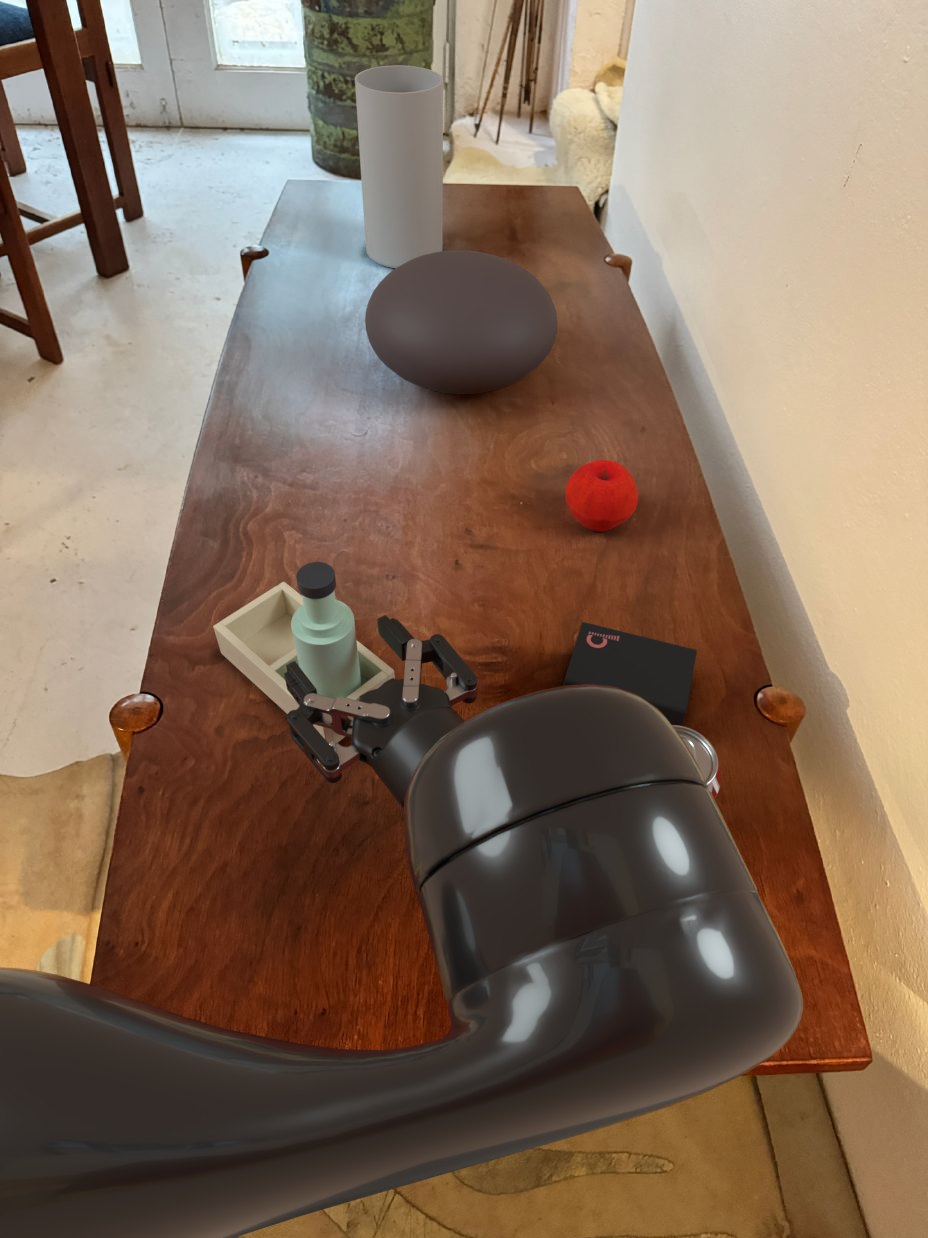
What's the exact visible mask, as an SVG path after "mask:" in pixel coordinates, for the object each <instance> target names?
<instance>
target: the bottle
mask: <svg viewBox="0 0 928 1238" xmlns="http://www.w3.org/2000/svg"><path fill="white" fill-rule="evenodd" d="M295 575H296V576H295V578H296V584H297V589H298V593H299V594H300V595H301V596H302V598H303V605H302V606H301V607H299V608H298V609H297V610H296V612H295V613H294V615H293V617H292V620H291V628H292V633H293V638H294V643H295V648H296V653H297V658H298V663H299V667H300V668H301V670H302V671H303V672H304V674H305V675H306V676H307V677H308V679H309V680H310V681H311V683H312V684H313V685H314V686H315V688H316V689H317V694H319V695H323V696H326V697H330V698H336V697H338V696H341V697H345V698H346V697H348V696H349V695H350V694H352V693H353V692H354V691H356V690H357V689H358V688H360V687H361V686H362V685H361V676H360V667H359V658H358V649H357V641H358V639H357V632H356V623H355V615H354V612H353V610H352V609H351V608H350V606H348V605H347V604H346V603H344V602H343V601H341V600H338V599H337V598H336V592H335V590H336V587H337V580H336V572H335V570H334V568H333V567H332V566H331V565H330V564H328V563H326V562H322V561H313V562H308V563H306V564H304V565H302V566H301V567H300V568H299V569H298V570H297V573H296V574H295Z"/></svg>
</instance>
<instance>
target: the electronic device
mask: <svg viewBox="0 0 928 1238" xmlns="http://www.w3.org/2000/svg"><path fill="white" fill-rule="evenodd" d="M697 653H698V650H697V649H696V648H692V647H687V646H682V645H679V644H674V643H671V642H667V641H662V640H658V639H654V638H650V637H646V636H642V635H638V634H634V633H630V632H626V631H622V630H618V629H614V628H610V627H606V626H602V625H597V624H594V623H591V622H590V623H589V622H586V621H581V624H580V627H579V631H578V634H577V637H576V641H575V644H574V647H573V651H572V654H571V657H570V660H569V663H568V667H567V671H566V673H565V676H564V682H563V685H562V686H568V685H583V684H594V685H604V686H613V687H616V688H619V689H622V690H625V691H628V692H631V693H634V694H637V695H638V696H640V697H641V698H643V699H644V700H646V701H647V702H649V703H650V704H652V705H653V706H655V707H656V708H658V709H659V710H660V711H661V713H662V714H663V715H664V716H665V717H666V719H667V720H668V721H669V722H670V724H671V725H678V726H682V725H683V722H684V719H685V716H686V713H687V709H688V705H689V704H688V703H689V698H690V693H691V687H692V682H693V676H694V670H695V664H696V658H697Z"/></svg>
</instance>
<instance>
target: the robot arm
mask: <svg viewBox="0 0 928 1238" xmlns="http://www.w3.org/2000/svg"><path fill="white" fill-rule="evenodd" d="M376 621H377V632H378V635H379V636H380V637H381V639H382V640H383V641H384V642H385V643H386V644H387V645H388V647H390V649H391V650H392V651H393V652H394V653H395V654H396V656H397V657H398V658H399V660H401V661H402V662H404V672H403V673H404V674H403V678H397V679H394V678H391V679H390V680H388V681H386V682H385V683H383V684H382V685H381V686H380V687H379V688H378V689H375V690H371V691H368V692H366V693H364V694H362V695H360V696H359V698H360V700H359V701H357V700H353V699H349V698H345V697H341V696H338V697H336V698H330V697H326V696H323V695H319V694H317V689H316V688H315V686H314V685H313V684H312V683H311V681H310V680H309V679H308V677H307V676H306V675H305V674H304V672H303V671H302V670H301V668H300V667H299V666H298V664H297V663H296V662H295V661H293V662H291V663H289V664H287V665H286V668H287V672H286V673H284V676H285V681H286V686H287V690H288V691H289V692H290V694H291V695H292V696H293V698H294V699H295V701H296V702H297V703H298V705H299V707H298V709H297V710H292V711H290V712H289V713H288V714H287V713H286V722H287V724H288V728H289V734H290V738H291V739H292V740H293V742H294V743H295V744H296V745H297V746H298V748H299V749H300V750H301V752H302V753H303V754H304V755H305V756H306V757H307V759H308V760H309V761H310V762H311V764H313V766H314V767H315V768H316V770H317V771H318V772H319V773H320V774H321V775H322V777H323V778H324V779H325V781H327V782H328V783H330V784H336V783H338V782H339V781H341V779H342V776H343V774H342V772H343V771H345V770H346V769H348V768H349V767H351V766H352V765H354V764H355V763H357V762H358V761H359V762H362V763H365V764H366V765H367V766H368V765H369V767H370V768H372V770H373V771H374V773H375V774H376V775H377V777H378V778H379V779H380V780H381V782H382V784H383V785H384V786H385V788H387V790H388V791H389V793H391V795H392V796H393V798H394V799H395V800H396V801H397V802H398V804H399V805H400V807H401V808H402V809H403V835H404V844H405V851H406V856H407V862H408V868H409V871H410V876H411V880H412V884H413V886H414V889H415V893H416V895H417V898H418V899H417V900H418V902H419V905H420V909H421V914H422V917H423V921H424V924H425V929H426V932H427V936H428V938H429V943H430V946H431V950H432V954H433V958H434V961H435V964H436V968H437V972H438V976H439V979H440V984H441V987H442V991H443V994H444V998H445V1001H446V1003H447V1007H446V1008H447V1012H448V1016H449V1020H450V1029H449V1031H448V1033H446V1034H445V1035H444V1036H442V1037H440V1038H437V1039H436V1040H432V1041H428V1042H424V1043H420V1044H415V1045H411V1046H404V1047H396V1048H388V1049H387V1048H386V1049H357V1048H335V1047H329V1046H320V1045H314V1044H307V1043H298V1042H294V1041H289V1040H288V1041H287V1040H282V1039H278V1038H271V1037H267V1036H262V1035H257V1034H253V1033H247V1032H243V1031H238V1030H233V1029H228V1028H224V1027H220V1026H218V1025H214V1024H210V1023H206V1022H203V1021H200V1020H196V1019H193V1018H189V1017H186V1016H183V1015H181V1014H177V1013H175V1012H172V1011H169V1010H167V1009H163V1008H161V1007H158V1006H155V1005H152V1004H150V1003H147V1002H144V1001H141V1000H138V999H135V998H133V997H130V996H127V995H125V994H122V993H118V992H114V991H113V990H109V989H107V988H104V987H101V986H98V985H95V984H92V983H88V982H84V981H81V980H77V979H74V978H72V977H71V978H70V977H67V976H63V975H60V974H56V973H52V972H47V971H41V970H37V969H29V968H28V969H27V968H20V967H4V966H3V967H2V966H1V967H0V1238H238V1237H241V1236H244V1235H247V1234H250V1233H252V1232H257V1231H259V1230H262V1229H266V1228H269V1227H272V1226H275V1225H278V1224H280V1223H285V1222H288V1221H290V1220H294V1219H297V1218H299V1217H303V1216H306V1215H311V1214H313V1213H316V1212H319V1211H324V1210H327V1209H330V1208H333V1207H336V1206H339V1205H344V1204H347V1203H350V1202H353V1201H357V1200H360V1199H364V1198H368V1197H370V1196H371V1197H372V1196H375V1195H378V1194H381V1193H384V1192H388V1191H391V1190H395V1189H397V1188H398V1189H399V1188H401V1187H404V1186H409V1185H412V1184H415V1183H418V1182H422V1181H425V1180H429V1179H432V1178H436V1177H439V1176H442V1175H447V1174H450V1173H453V1172H456V1171H460V1170H464V1169H467V1168H471V1167H474V1166H478V1165H480V1164H484V1163H487V1162H491V1161H494V1160H498V1159H502V1158H505V1157H508V1156H512V1155H516V1154H518V1153H523V1152H526V1151H529V1150H533V1149H537V1148H540V1147H543V1146H546V1145H550V1144H553V1143H557V1142H560V1141H564V1140H568V1139H570V1138H571V1139H572V1138H574V1137H577V1136H581V1135H584V1134H587V1133H591V1132H594V1131H598V1130H601V1129H604V1128H608V1127H611V1126H615V1125H617V1124H620V1123H625V1122H627V1121H630V1120H633V1119H637V1118H640V1117H642V1116H646V1115H648V1114H652V1113H655V1112H657V1111H661V1110H664V1109H666V1108H670V1107H672V1106H675V1105H677V1104H681V1103H683V1102H685V1101H687V1100H690V1099H693V1098H695V1097H698V1096H700V1095H703V1094H705V1093H708V1092H711V1091H713V1090H714V1089H717V1088H719V1087H720V1086H723V1085H725V1084H727V1083H728V1082H731V1081H734V1080H736V1079H737V1078H739V1077H741V1076H744V1075H746V1074H747V1073H749V1072H750V1071H752V1070H753V1069H755V1068H757V1067H758V1066H760V1065H761V1064H763V1063H764V1062H766V1061H767V1060H769V1059H770V1058H772V1056H773V1057H774V1055H775V1054H777V1052H779V1051H780V1050H781V1049H782V1048H783V1047H784V1046H785V1045H786V1044H787V1043H788V1042H789V1041H790V1039H791V1038H792V1037H793V1036H794V1034H795V1033H796V1031H797V1029H798V1027H799V1024H800V1022H801V1019H802V1017H803V1010H804V1001H803V999H804V998H803V993H802V989H801V986H800V984H799V980H798V977H797V974H796V971H795V969H794V967H793V964H792V961H791V959H790V957H789V955H788V952H787V950H786V948H785V946H784V943H783V941H782V939H781V937H780V934H779V933H778V930H777V928H776V926H775V923H774V921H773V919H772V917H771V915H770V913H769V911H768V909H767V906H766V905H765V902H764V901H763V898H761V896H760V894H759V893H758V887H757V885H756V883H755V880H754V879H753V877H752V874H751V872H750V870H749V868H748V866H747V864H746V862H745V860H744V858H743V856H742V854H741V852H740V850H739V847H738V845H737V843H736V841H735V839H734V837H733V835H732V833H731V831H730V829H729V827H728V824H727V822H726V820H725V818H724V816H723V814H722V812H721V810H720V808H719V806H718V804H717V801H716V800H715V799H716V798H715V799H714V797H713V795H712V793H711V792H710V791H709V787H708V785H707V783H706V781H705V778H704V776H703V774H702V772H701V770H700V768H699V766H698V764H697V762H696V760H695V758H694V757H693V755H692V753H691V752H690V750H689V748H688V747H687V745H686V744H685V742H684V741H683V739H682V738H681V737H680V735H679V734H678V732H677V731H676V730H675V729H674V727H673V726H672V725H671V724H670V722H669V721H668V720H667V719H666V717H665V716H664V715H663V714H662V713H661V711H660V710H659V709H658V708H656V707H655V706H653V705H652V704H650V703H649V702H647V701H646V700H644V699H643V698H641V697H640V696H638V695H637V694H634V693H631V692H628V691H625V690H622V689H619V688H616V687H613V686H604V685H594V684H583V685H568V686H563V685H560V686H556V687H555V686H554V687H551V688H550V687H549V688H546V689H542V690H536V691H534V692H530V693H527V694H524V695H520V696H517V697H513V698H511V699H509V700H506V701H503V702H501V703H498V704H496V705H494V706H491V707H489V708H487V709H485V710H482V711H481V712H479V713H476V714H475V715H474V716H472V717H470V718H468V719H466V720H465V719H464V718H463V717H462V716H461V715H460V713H458V712H457V711H456V710H455V709H453V706H455V705H457V704H458V703H461V702H463V703H465V704H473V703H474V702H475V701H476V699H477V691H478V690H477V689H478V677H477V676H476V674H475V673H474V672H473V671H472V669H471V668H470V667H469V666H468V664H467V663H466V662H465V661H464V660H463V658H462V657H461V655H459V653H458V652H457V651H456V650H455V649H454V646H452V645H451V644H450V642H448V639H446V637H444V635H442V634H439V633H435V634H433V635H431V636H430V638H429V639H425V640H420V639H418V638H415V637H414V636H413V635H412V634H411V633H410V631H408V630H407V628H406V627H405V626H404V625H403V624H402V622H400V621H399V620H398V619H396V618H395V617H392V618H390V617H388V615H386V614H385V615H382V616H380V617H377V620H376ZM427 663H432V665H434V667H435V668H436V670H437V671H438V672H439V673H440V674H441V676H442V677H443V678H444V680H445V689H446V690H444V689H441V688H438V687H434V686H431V685H428V684H423V683H422V676H423V664H427ZM348 716H350V717H353V721H352V720H350V719H349V718H348ZM313 725H318V726H322V727H326V728H329V729H332V730H333V731H334V732H335V733H337V734H339V735H343V736H345V737H347V738H351V739H350V743H351V745H349V746H342V745H341V744H340V743H339V742H338V743H335V742H334V741H331V742H330V743H328V742H327V741H326V740H325V739H324V738H323V737H322V735H321V734H320V733H319V732H318V731H317V730H316V728H315V727H314V726H313Z"/></svg>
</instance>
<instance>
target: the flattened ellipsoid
mask: <svg viewBox="0 0 928 1238" xmlns="http://www.w3.org/2000/svg"><path fill="white" fill-rule="evenodd" d="M372 291H373V292H372V293H371V295H370V298H369V299H368V302H367V305H366V309H365V317H364V325H365V332H366V335H367V340H368V342H369V344H370V346H371V348H372V350H373V351H374V353H375V355H376V356H377V358H378V359H379V360H380V362H382V363H383V365H384V366H386V368H388V369H389V370H391V371H392V372H393V373H394V374H395V375H397V376H399V377H400V378H402V380H404V381H407V382H409V383H411V384H413V385H415V386H417V387H421V388H424V389H428V390H431V391H434V392H439V393H444V394H450V395H451V394H452V395H473V394H475V395H476V394H482V393H488V392H491V391H496V390H500V389H503V388H506V387H509V386H511V385H513V384H515V383H517V382H519V381H521V380H523V379H524V378H526V377H527V376H528V375H530V374H531V373H532V372H534V371H535V370H537V369H538V368H539V367H540V365H541V364H542V363H543V362H544V361H545V360H546V358H547V357H548V355H549V354H550V353H551V351H552V348H553V346H554V343H555V340H556V337H557V334H558V313H557V310H556V307H555V304H554V302H553V300H552V297H551V296H550V293H549V291H548V290H547V289H546V288H545V286H544V285H543V283H541V282H540V280H539V279H538V278H537V277H536V275H534V274H532V273H531V272H530V271H529V270H527V269H526V268H524V267H522V266H521V265H519V264H517V263H515V262H513V261H512V260H510V259H507V258H504V257H501V256H499V255H495V254H491V253H487V252H483V251H477V250H469V249H468V250H467V249H455V250H454V249H450V250H442V251H441V252H435V253H431V254H426V255H422V256H420V257H417V258H414V259H412V260H410V261H408V262H406V263H404V264H402V265H401V266H399V267H397V268H393V269H392V271H390V272H389V273H387V275H385V276H384V278H383V279H381V281H380V282H379V283H378V284H377V285H376V287H375V288H374V290H372Z"/></svg>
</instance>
